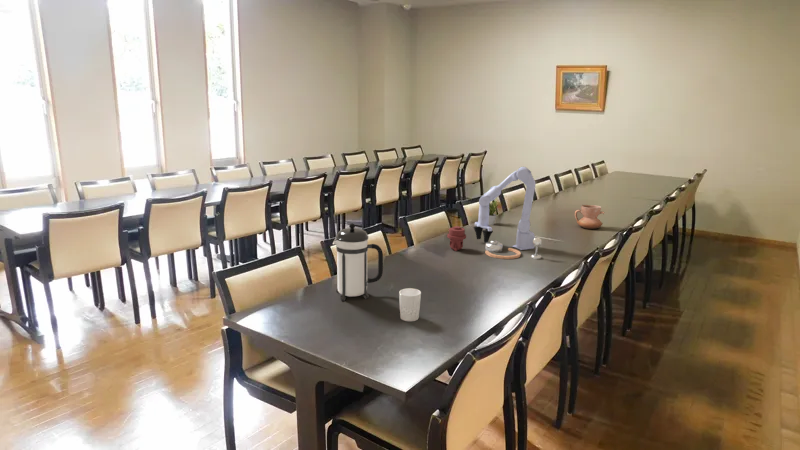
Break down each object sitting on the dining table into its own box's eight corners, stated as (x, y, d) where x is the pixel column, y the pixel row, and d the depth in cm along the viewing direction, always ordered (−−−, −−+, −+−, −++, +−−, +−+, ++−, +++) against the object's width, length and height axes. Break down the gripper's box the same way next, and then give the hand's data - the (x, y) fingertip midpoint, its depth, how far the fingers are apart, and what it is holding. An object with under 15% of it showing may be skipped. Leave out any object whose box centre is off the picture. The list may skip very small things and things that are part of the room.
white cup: (397, 313, 191) (398, 288, 189) (418, 313, 192) (419, 288, 189) (399, 322, 183) (400, 296, 181) (421, 322, 184) (422, 295, 182)
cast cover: (496, 247, 283) (496, 238, 282) (505, 251, 275) (506, 242, 274) (482, 248, 279) (482, 239, 278) (491, 253, 271) (491, 243, 270)
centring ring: (511, 249, 277) (511, 247, 277) (527, 256, 265) (527, 254, 265) (483, 252, 270) (483, 250, 270) (498, 260, 258) (498, 258, 258)
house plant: (485, 220, 347) (487, 196, 343) (504, 223, 339) (506, 198, 336) (475, 223, 336) (477, 199, 332) (495, 227, 328) (496, 201, 324)
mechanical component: (466, 247, 280) (464, 252, 271) (447, 246, 282) (445, 251, 272) (467, 225, 277) (465, 229, 268) (448, 224, 279) (446, 228, 270)
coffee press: (358, 305, 198) (358, 230, 191) (326, 297, 206) (325, 224, 199) (383, 292, 212) (384, 221, 205) (352, 284, 220) (352, 216, 213)
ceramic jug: (604, 227, 333) (606, 205, 330) (601, 231, 321) (603, 209, 318) (575, 224, 341) (577, 203, 338) (571, 228, 329) (573, 206, 326)
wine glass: (530, 256, 266) (532, 235, 264) (540, 256, 265) (542, 236, 263) (531, 258, 262) (532, 238, 259) (541, 259, 261) (542, 239, 258)
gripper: (470, 214, 289) (469, 238, 292) (484, 220, 276) (483, 244, 279) (481, 214, 291) (480, 237, 294) (495, 219, 278) (494, 243, 282)
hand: (482, 240), depth 287 cm, fingers open, 7 cm apart
